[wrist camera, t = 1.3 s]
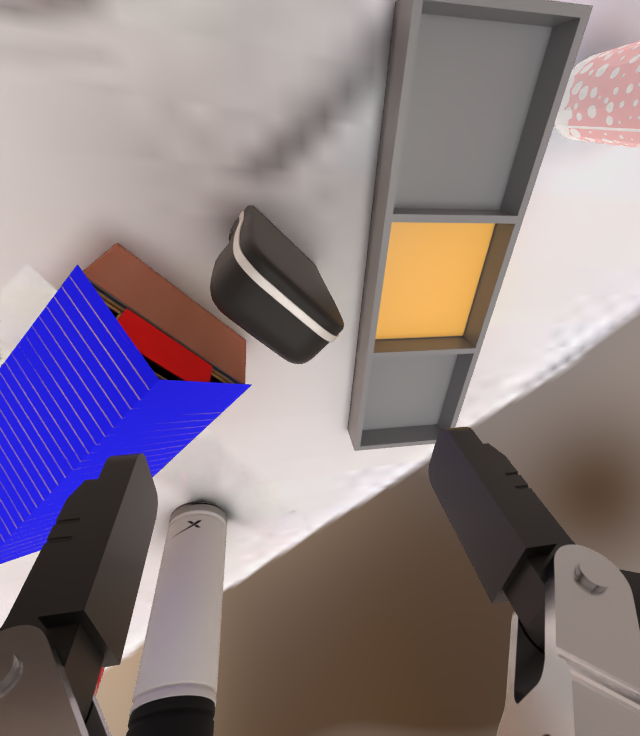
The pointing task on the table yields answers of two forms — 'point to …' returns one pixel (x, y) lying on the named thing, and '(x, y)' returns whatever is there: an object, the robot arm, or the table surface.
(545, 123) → the tray
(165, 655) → the travel mug
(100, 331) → the house
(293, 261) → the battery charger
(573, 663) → the robot arm
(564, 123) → the beverage cup
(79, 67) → the table surface
